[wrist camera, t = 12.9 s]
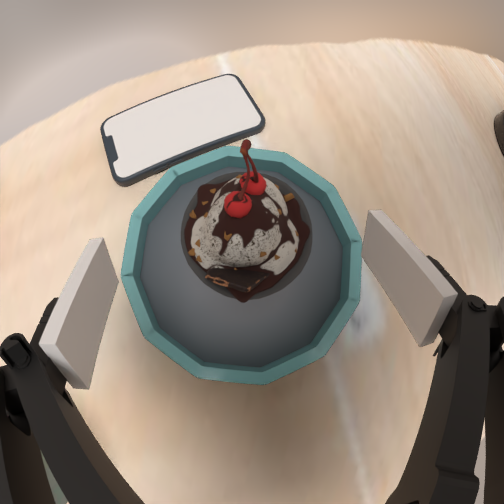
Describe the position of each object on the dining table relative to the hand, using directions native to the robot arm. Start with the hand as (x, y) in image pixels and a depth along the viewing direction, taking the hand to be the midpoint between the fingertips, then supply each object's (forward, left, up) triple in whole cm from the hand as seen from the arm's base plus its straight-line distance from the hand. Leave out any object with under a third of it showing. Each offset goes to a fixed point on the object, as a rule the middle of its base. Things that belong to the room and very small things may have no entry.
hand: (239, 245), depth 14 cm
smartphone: (-1, -16, -12) cm, 20 cm away
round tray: (-1, -1, -12) cm, 12 cm away
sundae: (-1, -1, -11) cm, 11 cm away
